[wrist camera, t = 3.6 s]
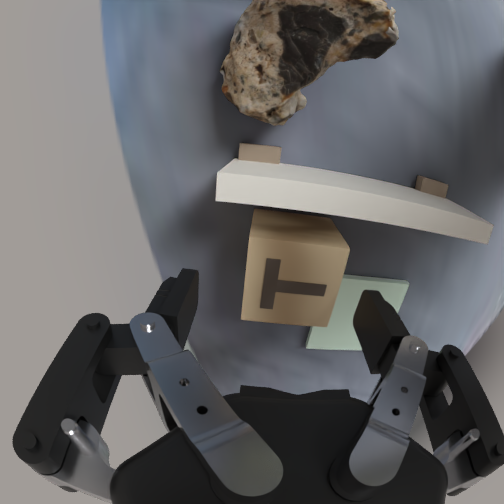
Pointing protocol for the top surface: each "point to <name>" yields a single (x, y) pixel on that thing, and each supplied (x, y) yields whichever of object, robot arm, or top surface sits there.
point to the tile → (353, 311)
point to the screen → (344, 195)
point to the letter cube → (293, 268)
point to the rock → (298, 50)
